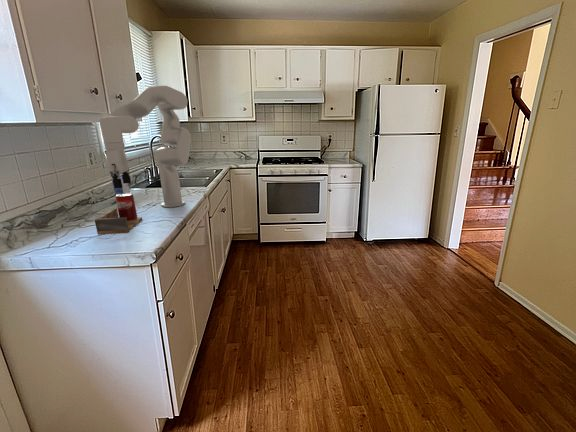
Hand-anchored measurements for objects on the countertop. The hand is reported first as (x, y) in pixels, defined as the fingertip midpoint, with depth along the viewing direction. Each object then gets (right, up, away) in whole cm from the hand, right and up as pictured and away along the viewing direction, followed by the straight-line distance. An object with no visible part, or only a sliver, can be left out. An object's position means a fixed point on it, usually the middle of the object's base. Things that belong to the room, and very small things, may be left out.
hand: (123, 185), depth 137 cm
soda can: (0, -16, +4) cm, 16 cm away
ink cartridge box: (-30, -2, +57) cm, 64 cm away
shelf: (-1, -18, 0) cm, 19 cm away
